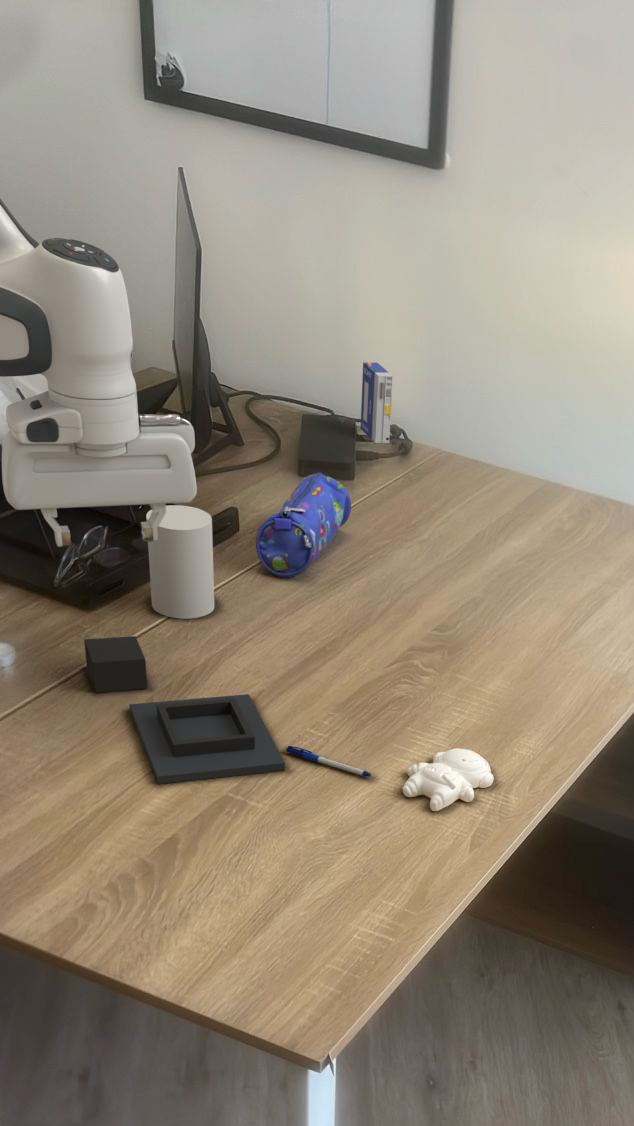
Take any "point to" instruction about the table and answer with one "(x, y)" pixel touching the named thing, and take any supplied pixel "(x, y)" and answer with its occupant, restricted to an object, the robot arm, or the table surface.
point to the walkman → (376, 402)
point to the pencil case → (303, 525)
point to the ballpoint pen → (325, 760)
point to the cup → (182, 563)
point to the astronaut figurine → (448, 777)
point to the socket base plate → (205, 738)
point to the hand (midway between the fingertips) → (107, 542)
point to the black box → (115, 664)
